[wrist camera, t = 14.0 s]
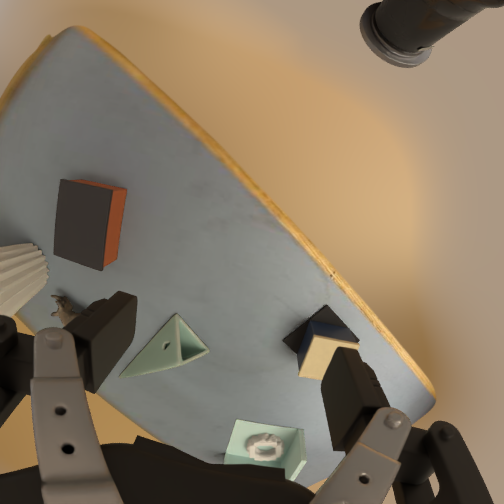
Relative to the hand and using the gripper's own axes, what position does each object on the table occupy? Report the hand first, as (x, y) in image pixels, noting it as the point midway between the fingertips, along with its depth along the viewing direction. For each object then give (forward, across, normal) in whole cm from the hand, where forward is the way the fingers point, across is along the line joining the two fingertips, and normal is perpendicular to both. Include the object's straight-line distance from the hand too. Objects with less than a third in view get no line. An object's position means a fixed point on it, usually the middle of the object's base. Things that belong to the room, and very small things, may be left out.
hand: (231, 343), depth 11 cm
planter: (+27, +9, +24) cm, 38 cm away
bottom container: (+27, +22, +4) cm, 35 cm away
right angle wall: (+27, -11, +39) cm, 48 cm away
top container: (+27, -13, +14) cm, 33 cm away
